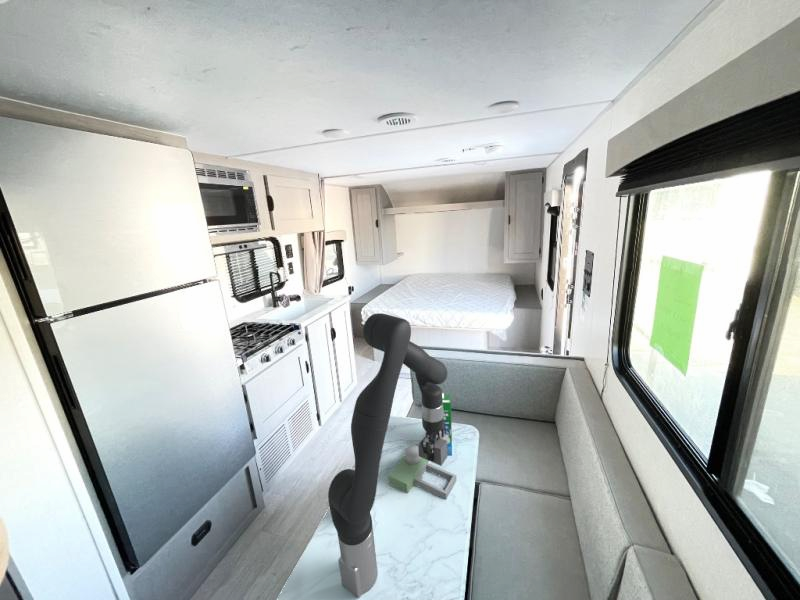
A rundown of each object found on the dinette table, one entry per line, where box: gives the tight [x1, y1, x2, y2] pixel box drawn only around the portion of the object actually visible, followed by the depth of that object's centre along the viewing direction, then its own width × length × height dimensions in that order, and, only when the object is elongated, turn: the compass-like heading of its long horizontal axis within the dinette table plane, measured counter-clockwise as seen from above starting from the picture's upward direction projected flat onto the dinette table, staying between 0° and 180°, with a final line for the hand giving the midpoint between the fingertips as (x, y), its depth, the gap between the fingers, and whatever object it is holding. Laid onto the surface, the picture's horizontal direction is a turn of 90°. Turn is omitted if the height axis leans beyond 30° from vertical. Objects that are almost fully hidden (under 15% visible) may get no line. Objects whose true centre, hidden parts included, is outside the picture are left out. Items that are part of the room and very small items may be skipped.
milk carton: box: [441, 392, 453, 456], centre depth 129 cm, size 9×9×25 cm
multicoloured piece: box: [388, 444, 457, 500], centre depth 117 cm, size 18×21×8 cm
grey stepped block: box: [417, 436, 448, 467], centre depth 112 cm, size 9×5×7 cm, turn 56°
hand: (434, 454), depth 112 cm, fingers closed on grey stepped block, 4 cm apart
